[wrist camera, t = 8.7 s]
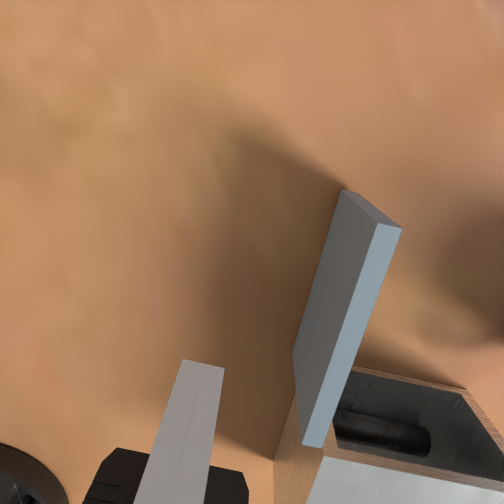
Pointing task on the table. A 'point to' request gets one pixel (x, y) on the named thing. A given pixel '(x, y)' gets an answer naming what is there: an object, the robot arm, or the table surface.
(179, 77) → the table surface
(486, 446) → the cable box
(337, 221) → the thin blue-grey panel
